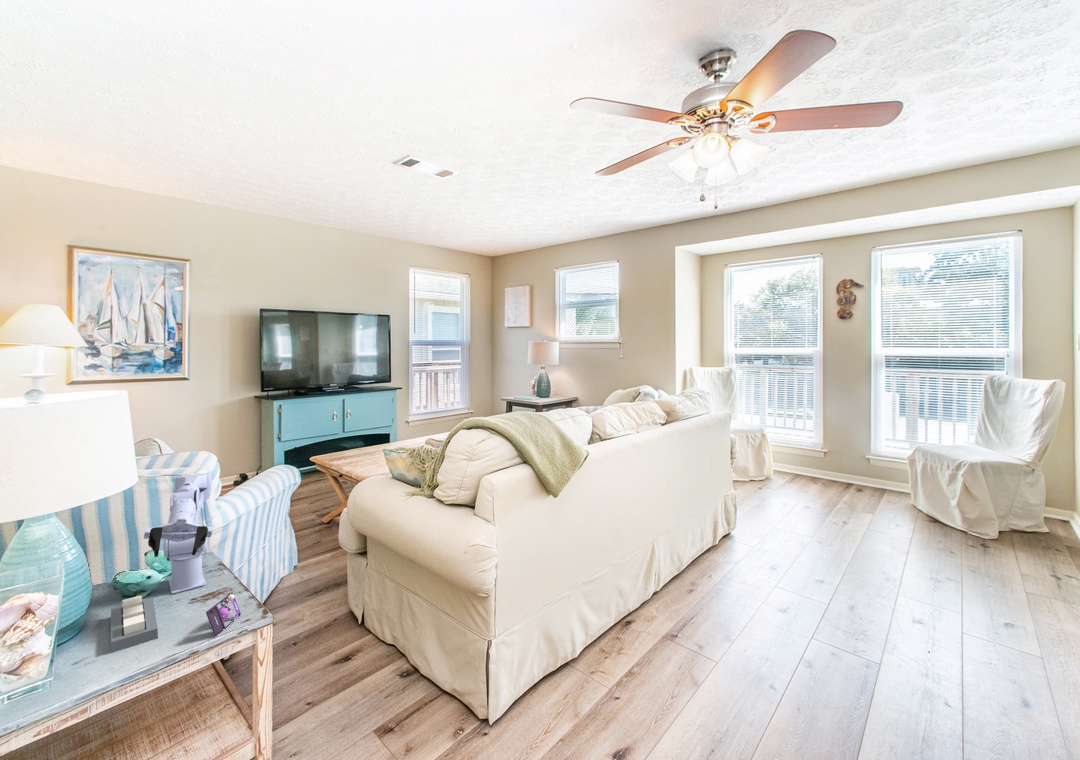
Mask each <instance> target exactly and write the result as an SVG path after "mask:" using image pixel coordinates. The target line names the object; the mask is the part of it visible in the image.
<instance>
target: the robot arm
mask: <svg viewBox="0 0 1080 760" xmlns="http://www.w3.org/2000/svg"><path fill="white" fill-rule="evenodd" d="M212 477H213V476H212V474H211V473H210V472H207V473H197V474H187V475H177V476H176V477H175V479H174V494H170V498H169V511H170V512H169V518H168V522H167V523H165V524H161V525H157V526H152V527H145V530H144V535H143V539H146V540H147V539H148V542H147V544H148V547H150V548H151V549H152V551H153V554H154V558H158V556H159V553H160V547H161V539H162V540H163V556H164V557H165V558H166V559H169V561H170V567H171V578H170V579H168V584H169V588H170V592H171V594H172V595H174V594H178V593H181V592H185V591H189V590H192V589H196V588H199V587H204V586H206V585H207V583H206V580H205V577H204V575H203V565H202V564H203V561H202V560H203V557H202V553H203V552H205V551H206V550H207V547H208V538H212V534H213V528H214V527H213V526H206V525H203V524H199V520H200V515H201V509H202V506H203V504H204V502H206V501H207V500H209V499H210V497H211V493H212V488H213V487H212V485H213V480H212Z"/></svg>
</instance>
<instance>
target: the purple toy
mask: <svg viewBox="0 0 1080 760" xmlns="http://www.w3.org/2000/svg"><path fill="white" fill-rule="evenodd" d="M228 603H231V604H232V605H233V607H234V610H235V613H236V614H235V615H234V616H235V618H236V619H237V617H239V616H240V615H241V616H242V613H241V611H240V608H239V606H238V603H237V601H236V597H235V595H234V593H233V592H230V593H229V594H228V595H226V596H224V597H223V598H222V599H221V600H220V601H218V602H217V603H216V604H214V605H213V606H212V607H211V608H209V609H208V610H207V611H205V613H206V617H207V620H208V622H209V626H208V627H209V628H211V629H212V632H213V634H214V637H215V636H217V635H218V634H220V633H221V632H222V631H223V629H225V630H227V629H228V628H229V627H230V626H231V625H232V624H233V623H232V622H234V619H232V621H231V622H229V623H228V624H227V625H225V623H224V621H225V620H226V619H228V617H230V615H231V614H232V611H231V610H233V608H232V607H229V604H228ZM226 604H227V605H226ZM218 605H220V607H219V608H218ZM239 618H240V617H239ZM237 620H238V619H237ZM231 623H232V624H231ZM234 623H235V622H234ZM230 624H231V625H230ZM229 625H230V626H229ZM210 626H211V627H210ZM228 626H229V627H228ZM227 627H228V628H227ZM226 628H227V629H226ZM223 632H224V631H223ZM223 632H222V633H223ZM222 633H221V634H222ZM221 634H220V635H221ZM218 636H219V635H218ZM218 636H217V637H218Z"/></svg>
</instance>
